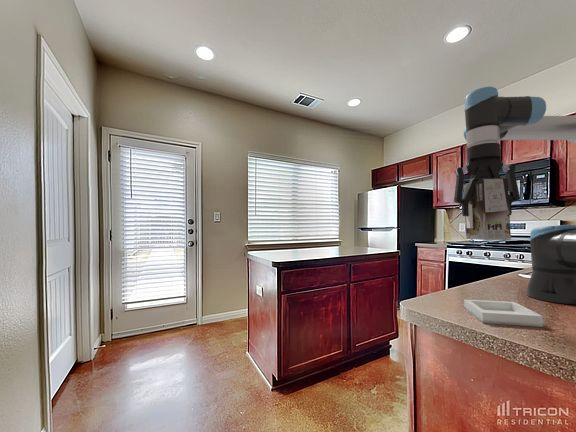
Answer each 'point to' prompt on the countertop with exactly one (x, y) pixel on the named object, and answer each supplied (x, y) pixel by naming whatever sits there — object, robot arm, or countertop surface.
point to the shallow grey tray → (503, 313)
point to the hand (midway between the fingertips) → (486, 227)
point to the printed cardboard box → (490, 210)
